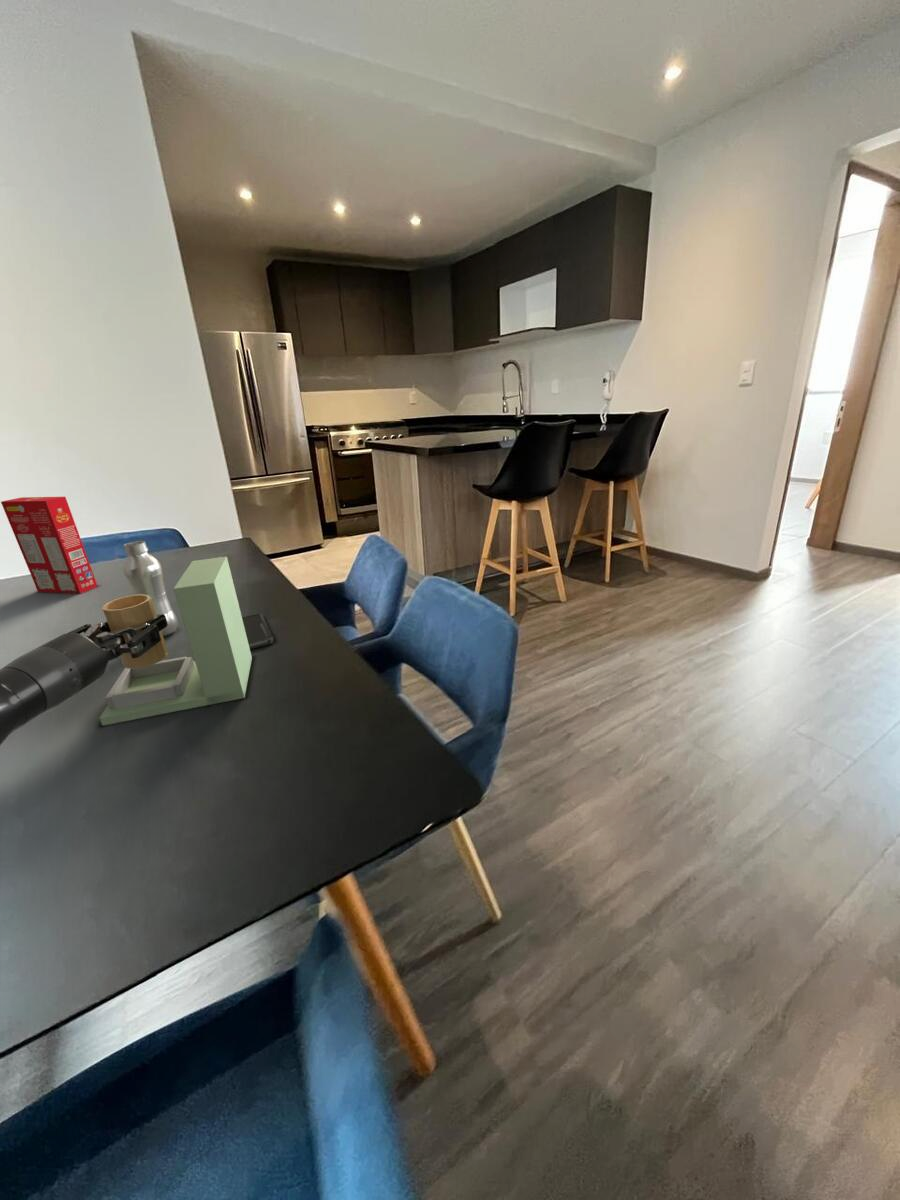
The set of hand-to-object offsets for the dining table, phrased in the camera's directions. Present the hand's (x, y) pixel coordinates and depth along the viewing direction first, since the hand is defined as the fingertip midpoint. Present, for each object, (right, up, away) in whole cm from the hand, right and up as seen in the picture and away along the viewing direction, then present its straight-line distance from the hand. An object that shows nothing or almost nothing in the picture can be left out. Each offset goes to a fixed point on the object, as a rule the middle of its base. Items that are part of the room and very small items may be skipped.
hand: (144, 619), depth 79 cm
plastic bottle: (-12, -4, +25) cm, 28 cm away
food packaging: (-56, +6, +56) cm, 80 cm away
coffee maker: (+4, -12, +4) cm, 13 cm away
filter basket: (0, -6, 0) cm, 6 cm away
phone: (+8, -4, +22) cm, 24 cm away
